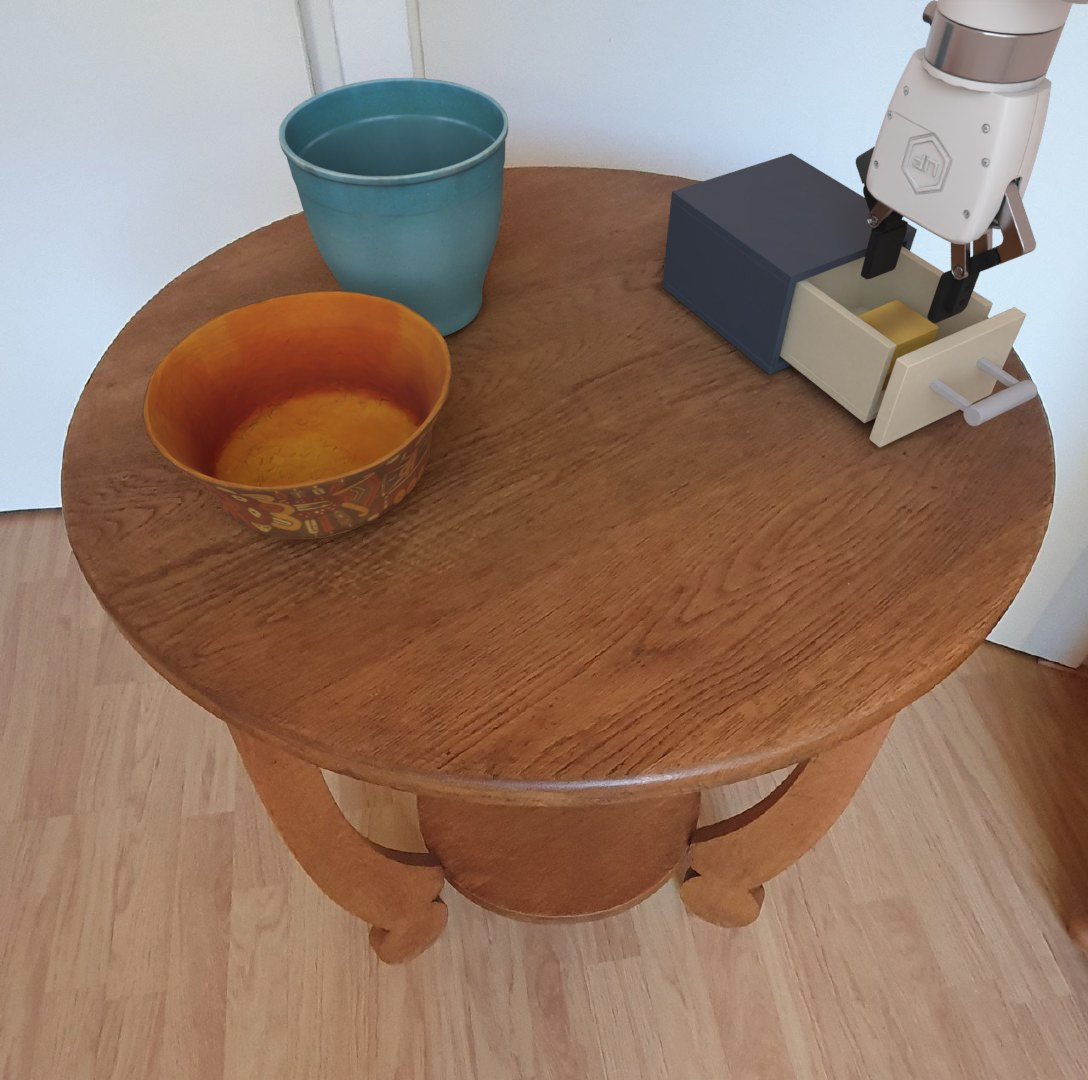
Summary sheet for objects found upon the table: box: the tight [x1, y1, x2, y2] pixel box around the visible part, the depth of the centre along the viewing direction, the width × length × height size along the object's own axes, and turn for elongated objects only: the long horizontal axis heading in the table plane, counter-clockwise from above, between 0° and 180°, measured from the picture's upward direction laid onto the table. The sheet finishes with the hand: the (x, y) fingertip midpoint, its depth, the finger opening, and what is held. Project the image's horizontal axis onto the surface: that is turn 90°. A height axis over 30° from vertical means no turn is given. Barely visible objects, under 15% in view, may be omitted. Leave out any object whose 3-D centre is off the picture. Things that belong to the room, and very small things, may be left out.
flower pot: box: [278, 77, 509, 338], centre depth 81 cm, size 18×18×17 cm
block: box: [857, 300, 939, 391], centre depth 76 cm, size 4×4×4 cm
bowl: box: [141, 290, 453, 540], centre depth 68 cm, size 21×21×10 cm
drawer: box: [780, 246, 1038, 448], centre depth 75 cm, size 20×12×8 cm, turn 31°
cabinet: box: [661, 152, 918, 376], centre depth 83 cm, size 16×14×10 cm
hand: (910, 292), depth 72 cm, fingers open, 6 cm apart
